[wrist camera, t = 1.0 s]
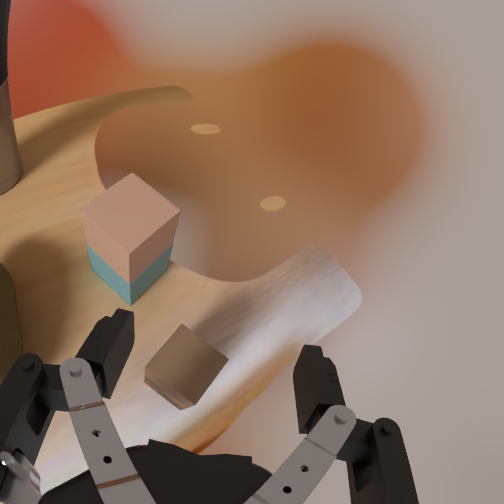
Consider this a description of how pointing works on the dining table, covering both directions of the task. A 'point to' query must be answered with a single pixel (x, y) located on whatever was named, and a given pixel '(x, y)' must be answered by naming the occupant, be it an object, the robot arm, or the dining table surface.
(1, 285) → the decorative stone
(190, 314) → the dining table surface
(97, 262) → the tower base
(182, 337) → the pillar
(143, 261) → the tower top
